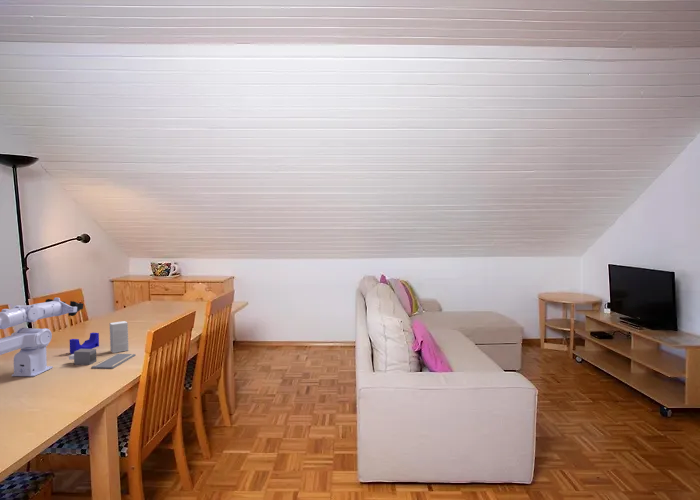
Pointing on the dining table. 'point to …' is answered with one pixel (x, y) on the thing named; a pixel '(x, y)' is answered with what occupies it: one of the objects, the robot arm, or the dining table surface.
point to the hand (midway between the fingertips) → (73, 305)
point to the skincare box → (119, 336)
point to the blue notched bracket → (87, 344)
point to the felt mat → (113, 361)
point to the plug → (84, 357)
